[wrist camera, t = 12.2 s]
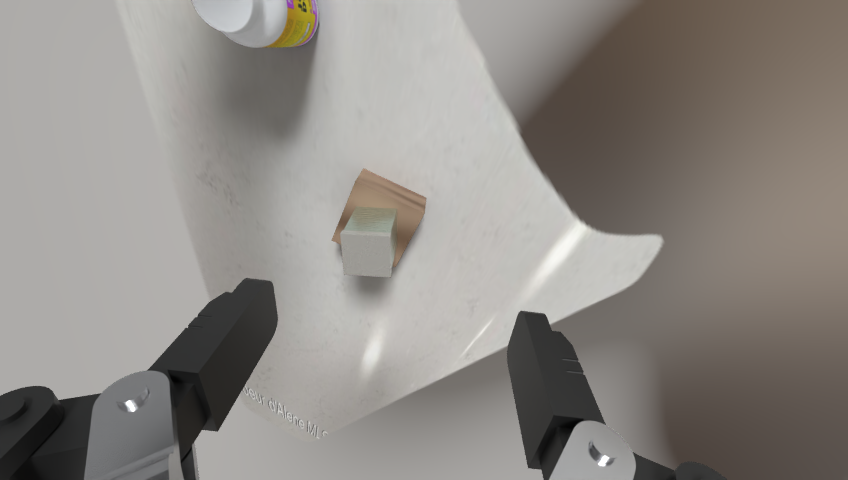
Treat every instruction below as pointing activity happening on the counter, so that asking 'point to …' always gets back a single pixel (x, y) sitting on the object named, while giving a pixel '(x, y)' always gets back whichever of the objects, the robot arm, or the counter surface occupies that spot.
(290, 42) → the supplement bottle
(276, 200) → the counter surface
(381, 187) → the walnut block
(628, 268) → the counter surface
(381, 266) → the tea tin
